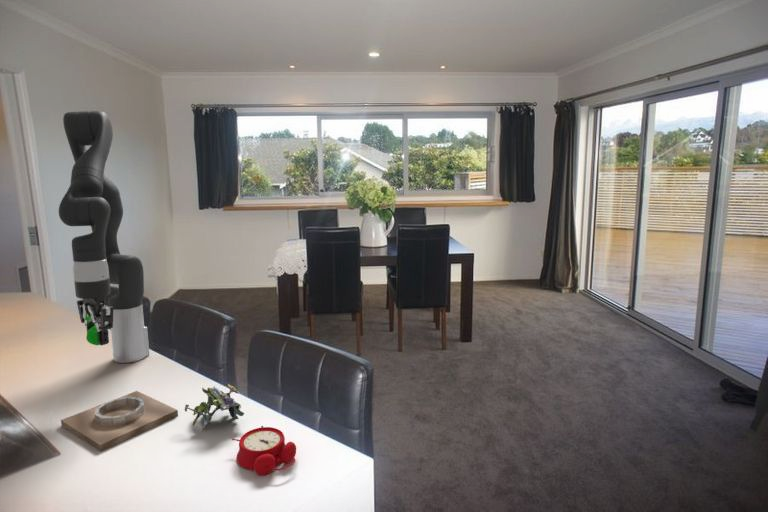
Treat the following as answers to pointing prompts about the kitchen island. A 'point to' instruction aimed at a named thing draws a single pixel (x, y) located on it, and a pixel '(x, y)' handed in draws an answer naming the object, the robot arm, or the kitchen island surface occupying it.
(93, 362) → the kitchen island surface
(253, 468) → the alarm clock
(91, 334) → the polyhedron
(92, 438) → the walnut board
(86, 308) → the robot arm
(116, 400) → the steel ring
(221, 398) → the grey green plastic figure
